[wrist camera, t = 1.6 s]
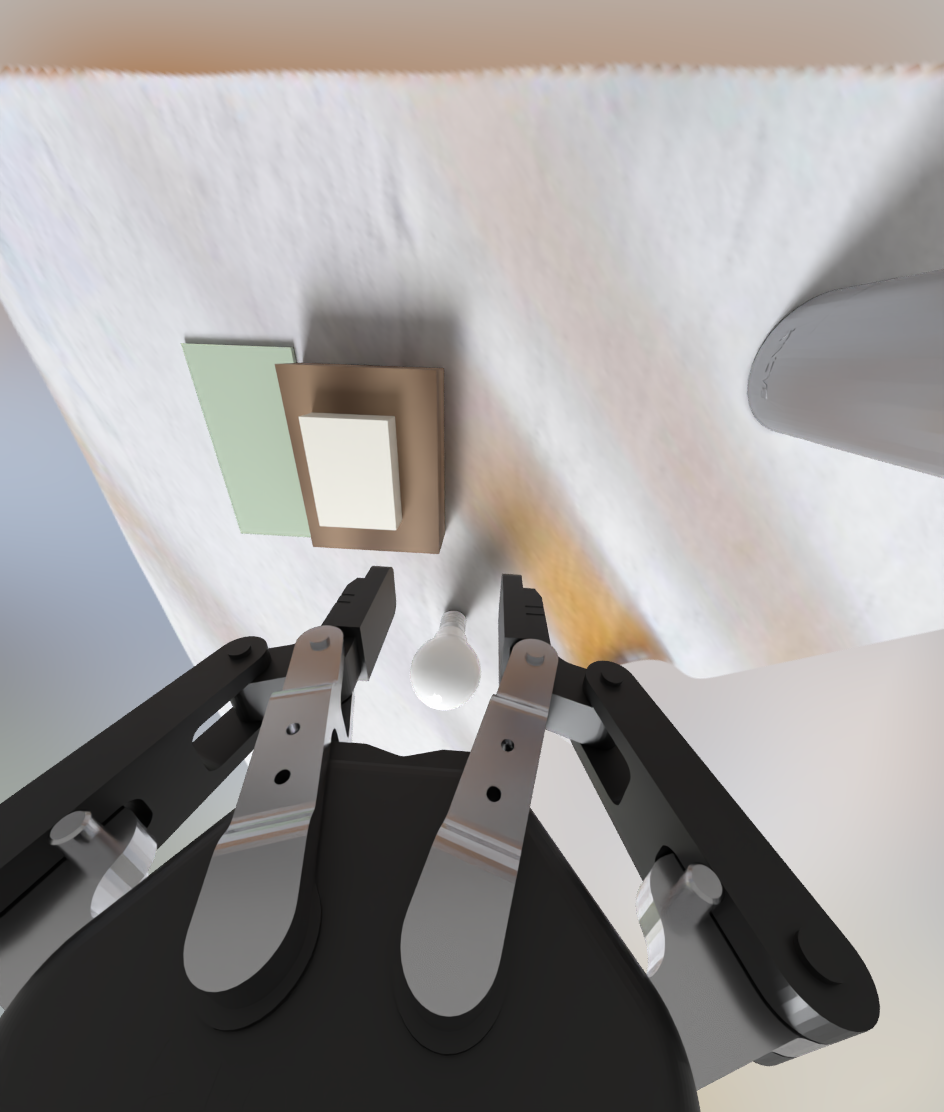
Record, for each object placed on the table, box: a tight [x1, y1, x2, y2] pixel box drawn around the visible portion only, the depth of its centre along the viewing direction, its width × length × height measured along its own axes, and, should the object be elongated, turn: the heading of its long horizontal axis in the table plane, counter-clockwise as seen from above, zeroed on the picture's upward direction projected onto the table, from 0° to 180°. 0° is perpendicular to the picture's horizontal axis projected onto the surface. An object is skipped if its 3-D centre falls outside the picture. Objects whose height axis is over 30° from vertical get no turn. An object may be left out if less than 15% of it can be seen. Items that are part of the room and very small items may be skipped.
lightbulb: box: [410, 611, 481, 710], centre depth 34 cm, size 6×6×11 cm
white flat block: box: [299, 413, 402, 530], centre depth 26 cm, size 6×8×2 cm
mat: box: [181, 343, 311, 537], centre depth 31 cm, size 8×16×1 cm, turn 178°
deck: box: [275, 363, 445, 554], centre depth 29 cm, size 11×14×4 cm
